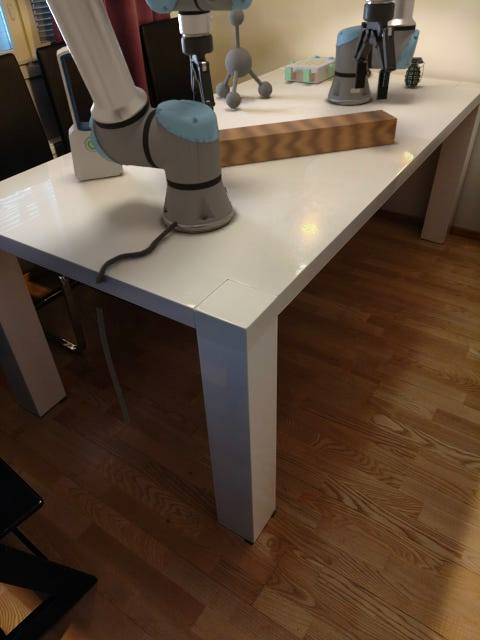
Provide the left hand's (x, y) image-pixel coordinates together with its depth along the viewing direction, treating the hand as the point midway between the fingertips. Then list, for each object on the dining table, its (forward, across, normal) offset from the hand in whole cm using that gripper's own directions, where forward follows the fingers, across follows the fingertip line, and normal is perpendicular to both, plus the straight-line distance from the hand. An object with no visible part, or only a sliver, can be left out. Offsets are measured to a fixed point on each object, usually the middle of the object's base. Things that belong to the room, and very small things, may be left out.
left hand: (205, 126), depth 129 cm
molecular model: (+10, +58, -25) cm, 65 cm away
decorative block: (+11, +83, -61) cm, 104 cm away
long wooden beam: (+10, 0, -23) cm, 25 cm away
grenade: (+11, +50, -90) cm, 103 cm away
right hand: (-3, 0, -46) cm, 47 cm away
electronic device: (+9, +2, +30) cm, 31 cm away
